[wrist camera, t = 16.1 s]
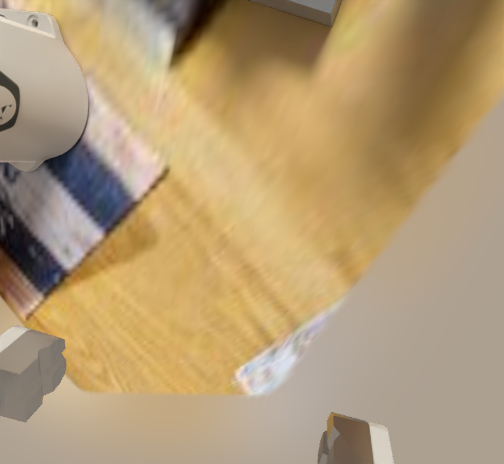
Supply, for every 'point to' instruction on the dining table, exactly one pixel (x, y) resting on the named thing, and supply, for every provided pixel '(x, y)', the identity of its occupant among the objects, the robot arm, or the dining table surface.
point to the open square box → (307, 9)
